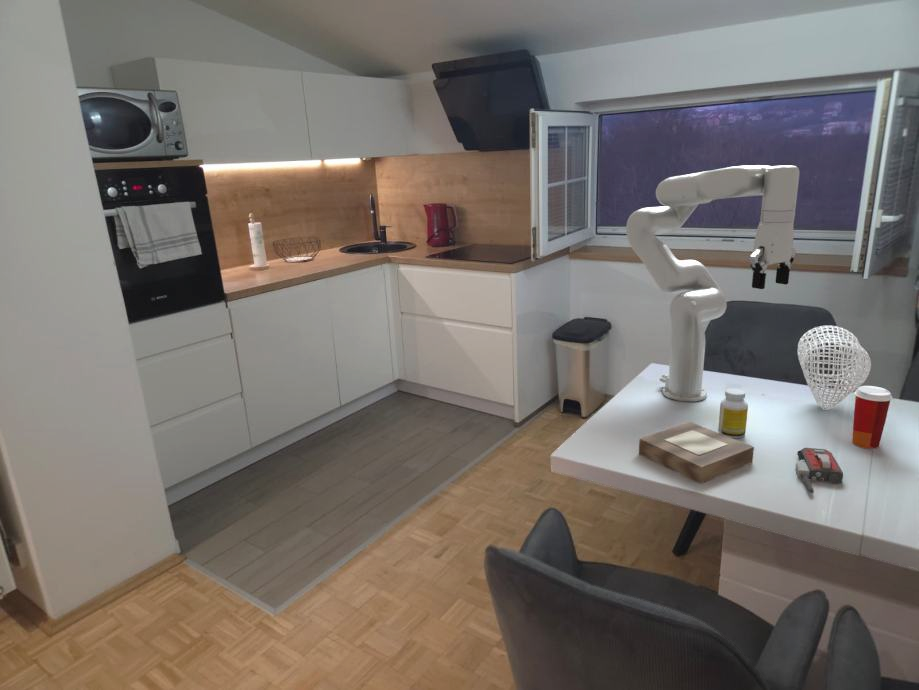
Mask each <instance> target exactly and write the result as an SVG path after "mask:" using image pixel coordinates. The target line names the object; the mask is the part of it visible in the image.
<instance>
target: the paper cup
mask: <svg viewBox="0 0 919 690" xmlns="http://www.w3.org/2000/svg"><path fill="white" fill-rule="evenodd" d="M853 394H854V396H855V401H854V411H853V421H852V422H853V426H852V435H851V436H852V437H851V438H852V439H851V440H852V441H851V442H852V444H853V445H854V446H855V447H858V448H862V449H869V450H875V449H878V448H879V447H880V444H881V440H882V437H883V433H884V428H885V424H886V420H887V416H888V412H889V407H890V404H891V401H892V400H893V396H892V392H890V391H889V390H888V389H887V388H883V387H880V386H874V385H860V386H859V387H858V388H857V389H856V390H854V393H853Z"/></svg>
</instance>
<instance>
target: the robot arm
mask: <svg viewBox="0 0 919 690" xmlns="http://www.w3.org/2000/svg"><path fill="white" fill-rule="evenodd" d="M799 181H800V169H799V167H798V166H796V165H773V166H771V165H763V164H761V165H760V164H756V165H754V164H753V165H752V164H751V165H738V166H737V165H736V166H729V167H723V168H718V169H717V168H716V169H713V170H705V171H701V172H700V171H699V172H693V173H688V174H682V175H675V176H669V177H667V178H665V179H664V180H662V181H660V182H659V184H658V185H657V187H656V189H655V196H656V200H657V201H658V202H659V204H661V205H663V206H649V207H641V208H640V209H637V210H635V211H633V212H632V213H631V214H630V215H629V216H628V218H627V222H626V228H625V231H626V237H627V242H628V243H629V245H630V247H631V249H632V250H633V252H634V253H635V254H636V255H637V257H638V258H639V259H640V260H641V261H642V263H643V264H644V266H645V268H646V269H647V271H648V273H649V274H650V276H651V277H652V279H653V280H654V282H655V283H656V285H657V287H658V288H659V289H660V290H661V291H662V292H663V293H664V294H666V295H673V294H677V295H676V296H674V297H673V299H672V300H671V301H670V304H669V316H670V318H669V319H670V324H671V325H670V326H671V336H670V353H669V365H668V366H669V367H668V374H666V373H663V374H662V375H661V377H660V378H659V381H660V382H661V383H664V384H665V386H664V387H663V388H662V395H663V396H665V398H668V399H672V400H674V401H680V402H699V401H702V400H705V399H706V398H707V396H708V395H707V390H705V388H702V387H703V386H702V385H703V379H704V378H703V376H704V363H705V354H706V353H705V351H706V334H705V330H704V328H703V324H702V323H703V322H708V321H712V320H716V319H718V318H720V317H722V316H723V315H724V314H725V313H726V311H727V310H726V309H727V306H728V304H727V303H728V301H727V297H726V296H725V293H724V292H723V290H722V289H721V288H720V286H719V285H718V283H717V282H716V280H715V278H714V277H713V275H711V273H710V272H709V270H708V269H707V267H706V266H705V265H704V264H703V263H701V262H699V261H698V260H695V259H681V260H680V259H678V258H677V257H676V256H675V254H674V253H673V252H672V251H671V249H670V247H669V246H668V245H667V244H666V243H664V242H663V241H662V240H660V239H659V238H658V237H657V236H659V235H660V236H661V235H669V234H673V233H675V232H677V231H678V230H679V229H681V228H682V227H683V225H684V224H685V222H686V221H688V219H689V217H690V216H691V215H692V213H694V211H695V210H696V209H697V207H698V206H699V205H700V204H701V205H703V204H708V203H711V202H712V201H714V200H722V199H723V200H724V199H731V198H732V199H733V198H743V197H754V196H755V197H758V196H762V198H761V200H762V201H761V209H760V210H761V211H760V212H761V213H760V221H759V224H758V225H757V229H756V233H755V237H754V242H753V249H752V254H751V255H749V262H750V267H751V272H752V280H751V287H752V289H759V290H764V289H765V288H766V286H765V285H766V279H767V278H766V277H767V273H766V270H767V268H768V267H769V265H770V266H771V265H777V267H776V275H775V283H776V284H780V285H788V284H789V281H790V271H791V269H792V264H793V262H794V259H795V255H796V253H797V250H796V249H795V247H794V223H795V217H796V206H797V199H798V191H799V190H798V189H799V188H798V187H799Z"/></svg>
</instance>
